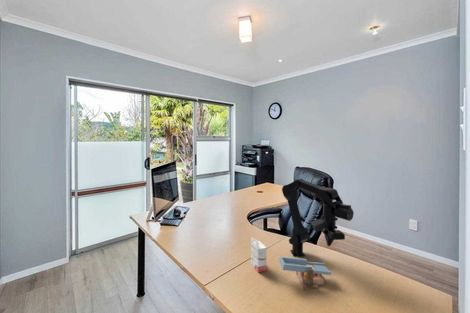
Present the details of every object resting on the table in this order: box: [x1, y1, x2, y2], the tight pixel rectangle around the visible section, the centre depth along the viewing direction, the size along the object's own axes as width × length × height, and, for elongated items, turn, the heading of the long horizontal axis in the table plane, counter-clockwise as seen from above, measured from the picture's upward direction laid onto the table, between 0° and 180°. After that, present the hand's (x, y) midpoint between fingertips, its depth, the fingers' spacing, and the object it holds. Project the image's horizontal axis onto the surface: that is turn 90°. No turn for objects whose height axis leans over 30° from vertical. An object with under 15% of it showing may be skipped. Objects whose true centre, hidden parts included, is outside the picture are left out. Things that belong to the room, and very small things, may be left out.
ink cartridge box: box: [250, 236, 268, 273], centre depth 112 cm, size 9×5×15 cm, turn 21°
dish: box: [296, 272, 326, 286], centre depth 102 cm, size 10×7×3 cm
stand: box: [295, 265, 319, 290], centre depth 101 cm, size 6×11×8 cm, turn 3°
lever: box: [278, 256, 332, 276], centre depth 101 cm, size 22×7×3 cm, turn 93°
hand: (328, 245), depth 110 cm, fingers closed
